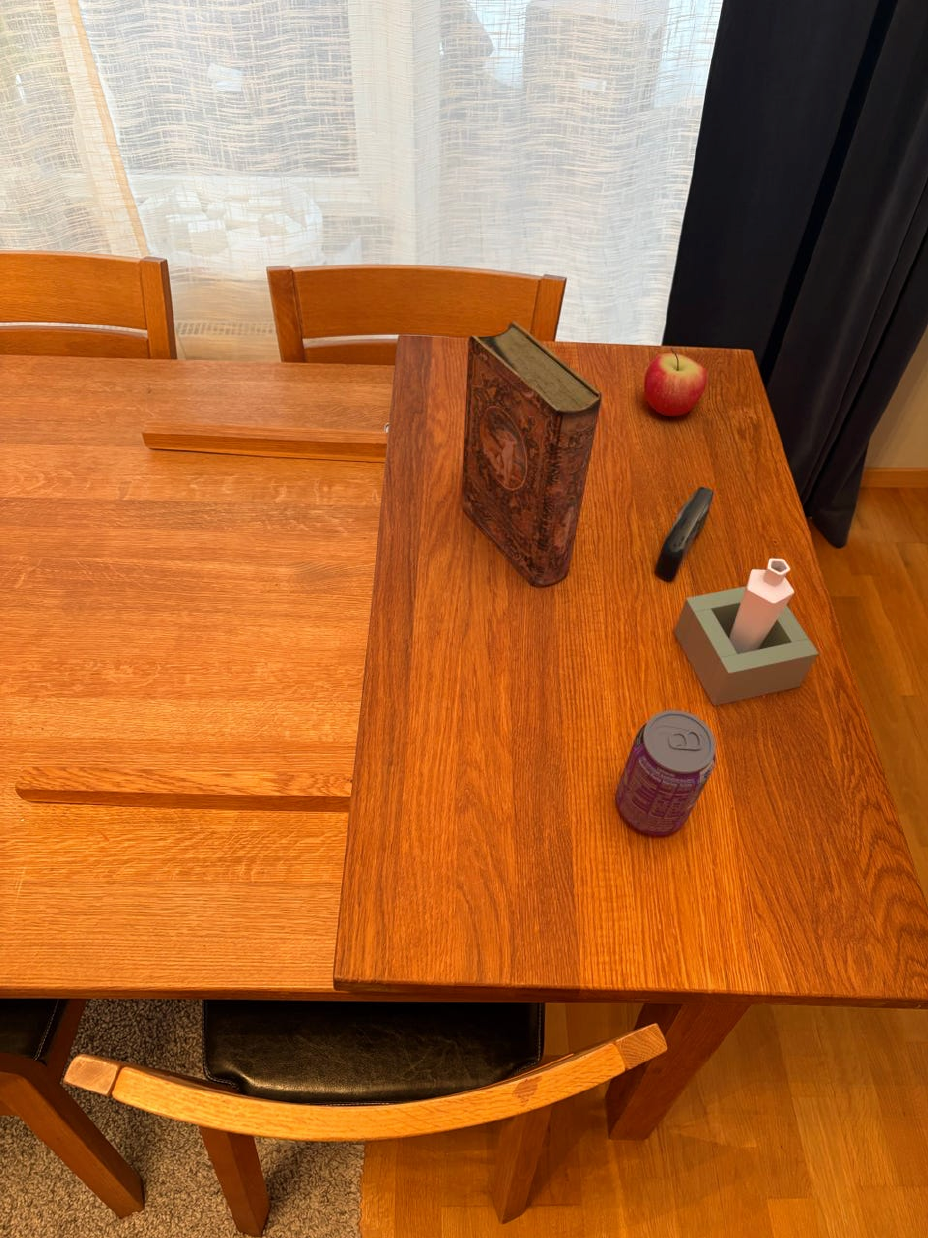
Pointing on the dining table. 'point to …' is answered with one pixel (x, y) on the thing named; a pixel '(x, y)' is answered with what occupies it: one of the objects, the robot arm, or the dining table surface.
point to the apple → (674, 383)
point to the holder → (745, 673)
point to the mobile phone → (684, 533)
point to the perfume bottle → (761, 606)
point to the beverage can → (666, 772)
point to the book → (526, 450)
